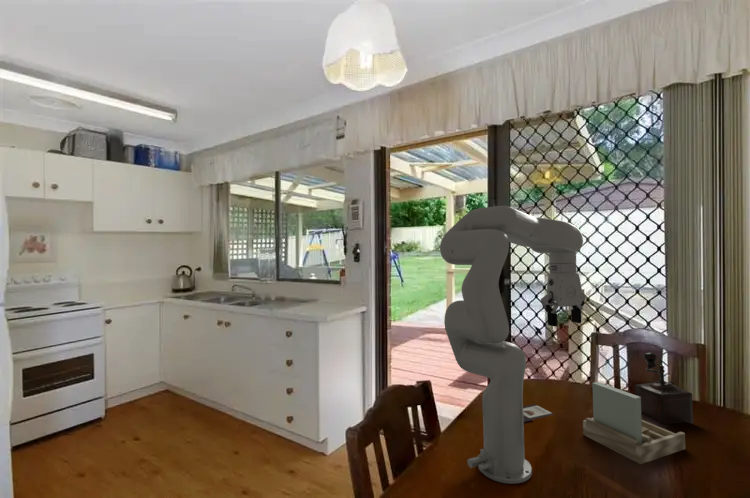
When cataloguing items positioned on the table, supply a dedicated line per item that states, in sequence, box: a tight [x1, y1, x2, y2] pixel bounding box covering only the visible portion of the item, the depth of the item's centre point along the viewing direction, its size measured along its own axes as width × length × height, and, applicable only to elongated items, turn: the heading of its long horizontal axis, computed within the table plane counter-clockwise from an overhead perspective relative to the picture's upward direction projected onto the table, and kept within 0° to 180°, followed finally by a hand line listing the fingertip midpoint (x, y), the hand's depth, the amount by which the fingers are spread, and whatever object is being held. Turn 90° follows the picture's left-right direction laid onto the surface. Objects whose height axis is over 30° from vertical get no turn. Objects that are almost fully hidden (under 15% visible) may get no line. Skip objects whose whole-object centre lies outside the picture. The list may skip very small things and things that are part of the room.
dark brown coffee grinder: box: [634, 352, 695, 425], centre depth 120 cm, size 16×11×18 cm
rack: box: [582, 417, 686, 465], centre depth 102 cm, size 17×16×6 cm
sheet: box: [591, 381, 642, 445], centre depth 100 cm, size 2×12×15 cm, turn 21°
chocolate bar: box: [523, 403, 555, 424], centre depth 122 cm, size 9×1×18 cm
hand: (564, 324), depth 117 cm, fingers open, 9 cm apart
